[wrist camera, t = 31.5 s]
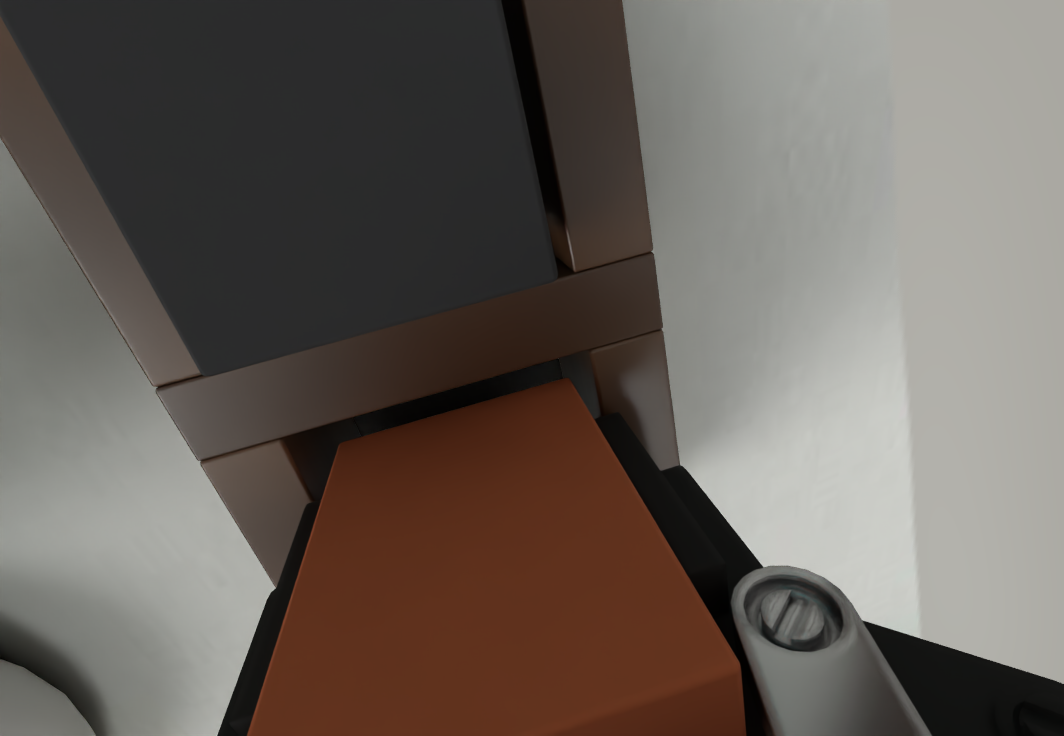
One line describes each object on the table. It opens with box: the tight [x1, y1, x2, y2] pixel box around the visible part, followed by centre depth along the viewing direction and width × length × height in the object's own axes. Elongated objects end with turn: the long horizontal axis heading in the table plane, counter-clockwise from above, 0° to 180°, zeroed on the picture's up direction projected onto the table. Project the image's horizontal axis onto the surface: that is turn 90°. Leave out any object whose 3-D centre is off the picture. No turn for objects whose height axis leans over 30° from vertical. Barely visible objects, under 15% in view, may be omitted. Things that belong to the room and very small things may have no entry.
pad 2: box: [247, 378, 746, 736], centre depth 8 cm, size 4×4×6 cm
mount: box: [0, 0, 680, 587], centre depth 10 cm, size 15×8×4 cm, turn 13°
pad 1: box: [0, 0, 558, 376], centre depth 8 cm, size 4×4×6 cm
